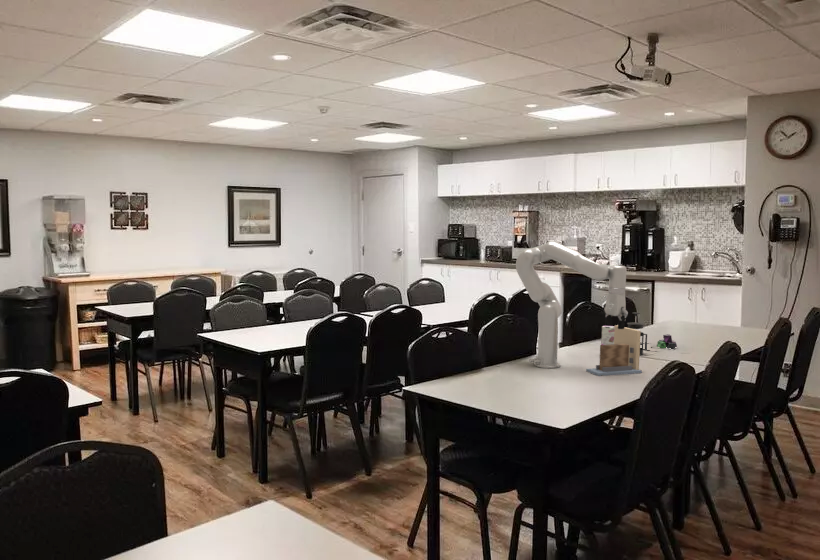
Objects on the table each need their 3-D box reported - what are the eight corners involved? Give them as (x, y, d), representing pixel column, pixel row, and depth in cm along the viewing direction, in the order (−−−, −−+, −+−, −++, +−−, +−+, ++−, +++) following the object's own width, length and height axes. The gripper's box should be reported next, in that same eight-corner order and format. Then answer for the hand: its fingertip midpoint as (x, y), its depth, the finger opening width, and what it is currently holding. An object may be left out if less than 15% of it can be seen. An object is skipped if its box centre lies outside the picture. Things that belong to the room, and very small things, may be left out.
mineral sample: (692, 356, 358) (693, 339, 357) (626, 348, 376) (627, 333, 376) (701, 350, 387) (702, 335, 387) (639, 344, 405) (640, 329, 405)
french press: (621, 354, 360) (623, 312, 358) (628, 351, 367) (629, 310, 365) (642, 356, 352) (644, 314, 351) (649, 354, 360) (650, 312, 358)
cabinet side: (598, 375, 305) (599, 333, 304) (574, 367, 324) (576, 327, 323) (641, 373, 313) (643, 331, 311) (616, 364, 332) (617, 325, 330)
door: (603, 371, 310) (604, 346, 309) (599, 369, 313) (600, 344, 312) (629, 369, 315) (630, 344, 314) (625, 368, 318) (626, 343, 317)
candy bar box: (623, 357, 351) (624, 326, 350) (621, 358, 347) (623, 328, 346) (602, 355, 357) (603, 325, 355) (600, 356, 352) (601, 326, 351)
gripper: (599, 289, 318) (597, 324, 319) (621, 293, 301) (619, 330, 303) (612, 289, 320) (610, 324, 321) (635, 293, 304) (632, 330, 305)
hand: (614, 327), depth 312 cm, fingers open, 9 cm apart
